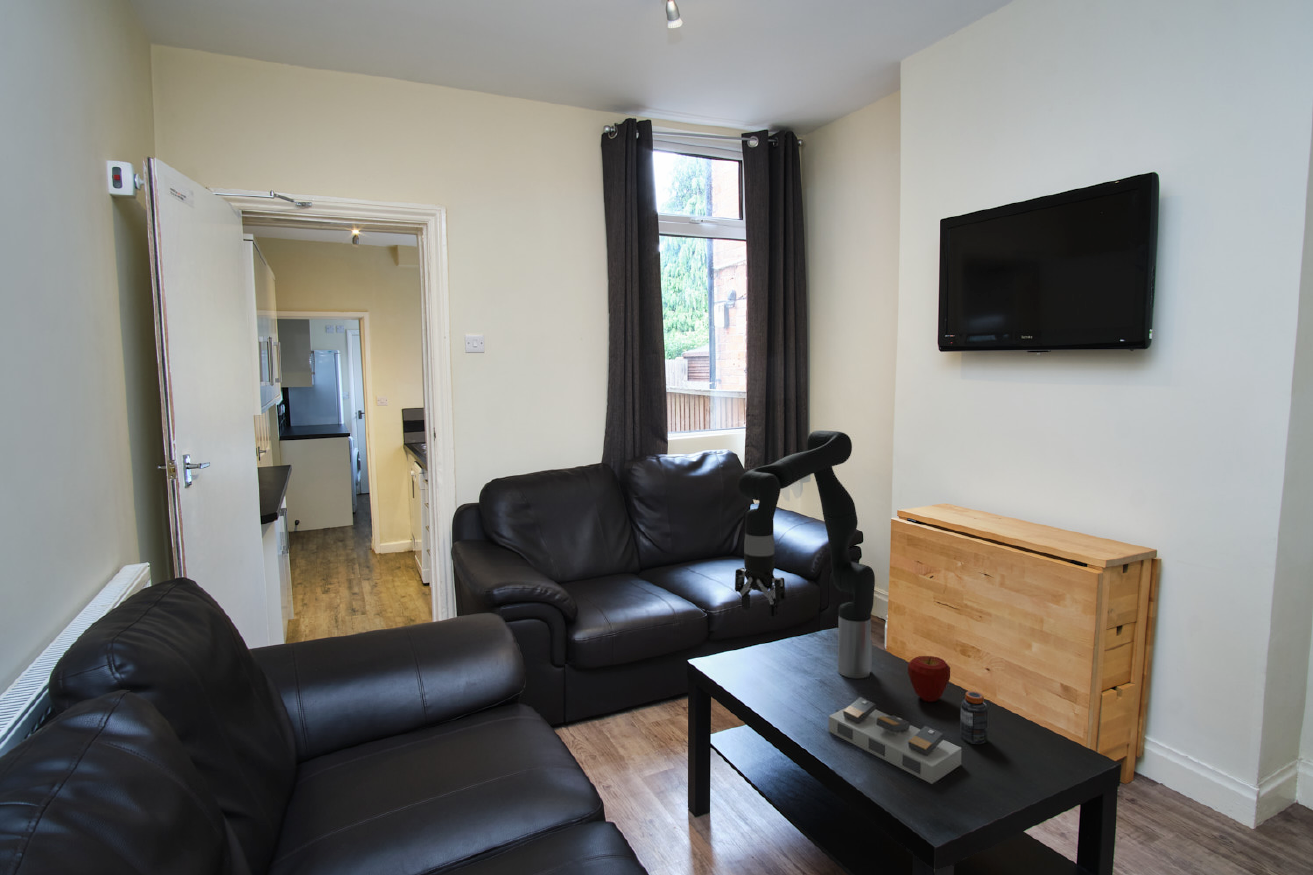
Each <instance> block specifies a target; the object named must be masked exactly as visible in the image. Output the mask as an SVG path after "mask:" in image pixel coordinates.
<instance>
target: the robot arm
mask: <svg viewBox="0 0 1313 875" xmlns="http://www.w3.org/2000/svg"><path fill="white" fill-rule="evenodd" d="M852 451H853V442H852V440H851V437H850V436H849V435H848V434H846V432H842V431H837V430H814V431H812V432H811V433H809V436H808V438H807V442H806V451H801V452H796V453H793V454H790V455H786V456H785V457H782V458H780V459H779V460H777V461H774V462H773V463H771V464H767V465H763V466H762V465H761V466H759V467H755V468H752V469H750V470H748V471H746V472H744V473H743V474H742V475H741V477H740V478H739V481H738V484H737V486H738V487H737V490H738V492H739V494H740V495H741V496H742V497H743V498H745V499H748V500H754V501H758V506H757V508H751V509H749V510H747V511H746V513H745V517H744V518H745V519H744V522H745V523H744V524H745V525H744V526H745V530H744V533H745V534H744V542H743V543H744V546H743V547H744V550H743V551H744V552H743V553H744V554H743V556H744V557H743V558H744V559H743V560H744V561H743V564H744V566H743V567H739V568H736V570H735V575H734V576H735V577H734V578H735V579H734V591H735V592H737V593H739V594H740V595H741V607H742V610H743V611H747V610H750V608H751V594H750V593H751V591H758V592H760V593H763V595H764V596H765V597H766V598H767V600H768V602H769V604H768V606H769V608H768V610H769V614H768V615H769V616H768V617H769V619H775V618H777V617H778V615H779V604H781V603H783V602H786V584H785V583H786V582H785V578H784V577H783V576H781V577H775V576H774V572H775V536H774V535H775V534H774V529H775V528H774V523H775V522H774V517H775V514H776V510H777V506H778V502H779V498H780V495H781V489H782V490H783V489H786V488H788V487H789V486H791V485H793V484H795V483H796V482H798V481H800V480H802V479H803V478H806V477H807V476H811V475H812V474H813V475H814V479H815V482H816V487H817V491H818V495H819V498H820V499H819V500H820V504H821V511H822V515H823V517H822V518H823V521H824V525H825V529H826V535H827V539H828V546H829V551H830V560H831V561H830V562H831V563H830V564H831V574H832V580H833V584H834V586H835V587H836V589H837V590H838V591H841V592H843V593H846V594H850V595H853V600H852V601H849V602H847V601H846V602H844V603H842V604H840V605H839V607H838V634H837V635H838V637H837V640H838V642H837V643H838V644H837V647H838V648H837V654H838V655H837V672H838V673H839V674H840V675H842V676H843V677H846V678H850V679H864V678H868V677H870V674H871V672H872V667H873V666H872V663H873V662H872V660H873V658H872V657H873V641H872V640H871V636H872V634H871V633H872V631H871V630H872V629H871V628H872V612H873V608H874V597H875V584H876V577H875V571H874V569H872V567H871V566H869V565H866V564H862V563H858V562H854V561H852V559H851V558H850V554H849V553H850V552H849V546H850V543H851V541H852V539H853V537H854V535H855V533H856V531H857V529H858V523H859V522H858V516H857V511H856V510H857V509H856V505H855V502H854V500H853V498H852V496H851V494H850V493H849V492H848V490H847V489H846V488H845V487H844V485H843V484H842V482H840V480H839V479H838V478H837V476H836V474H835V471H834V469H833V467H835V466H838V465H841V464H845V463H846V462H847V461H848V460H849V458H850V457H851V455H852ZM745 581H746V582H745Z"/></svg>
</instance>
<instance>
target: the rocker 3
mask: <svg viewBox="0 0 1313 875" xmlns="http://www.w3.org/2000/svg"><path fill="white" fill-rule="evenodd" d="M943 740H944V733H942V732H940V731H939V730H936V729H934V728H931V727H929V726H927V725H924V726H923V727H922V728H921V729H920V731H919V732H918V733H917V734H916V735H915V736H914V737H913V738H912V739H910V740H909V742H908V744H909V748H910V749H912V750H914V751H917V752H919V753H921V754H923V755H925V756H928V755H929V754H930V753H931V752H932V751H933V750H934V749H935V748H936V747H937V746H938V745H939V744H940V743H941V742H942V741H943Z"/></svg>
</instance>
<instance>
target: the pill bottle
mask: <svg viewBox="0 0 1313 875" xmlns="http://www.w3.org/2000/svg"><path fill="white" fill-rule="evenodd" d="M984 699H985V698H984V695H983V694H982V693H981V692H978V691H974V690H970V691H966V692H965V699H963V700H962V701H961V703H960V726H959V728H960V729H959V730H960V731H959V732H960V733H959V736H960V738H961V739H962V740H963V741H965V742H967V743H970V744H973V745H982V744H985V743H986V742H988V713H989V712H988V710H989V709H988V706H987V704H986V703H985V702H984V701H985V700H984Z"/></svg>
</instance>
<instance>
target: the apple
mask: <svg viewBox="0 0 1313 875" xmlns="http://www.w3.org/2000/svg"><path fill="white" fill-rule="evenodd" d="M907 665H908V667H907V675H908V677H909V679H910V683H911V686H912V687H913V690H914V692H915V694H916V695H917V696H918V697H919V698H920V699H921V700H923V701H924V702H927V703H934V702H936V701H937V700H939V699H940V698H941V697H942V696H943V694H944V692H945V690H946V688H947V686H948V683H949V681H950V679H951V667H950V665H949V664H948V663H947V662H946V660H944V659H942V658H940V657H939V656H931V655H920V656H916V657H913V658H912V659H911V660H910V661H909V662H908V664H907Z"/></svg>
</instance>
